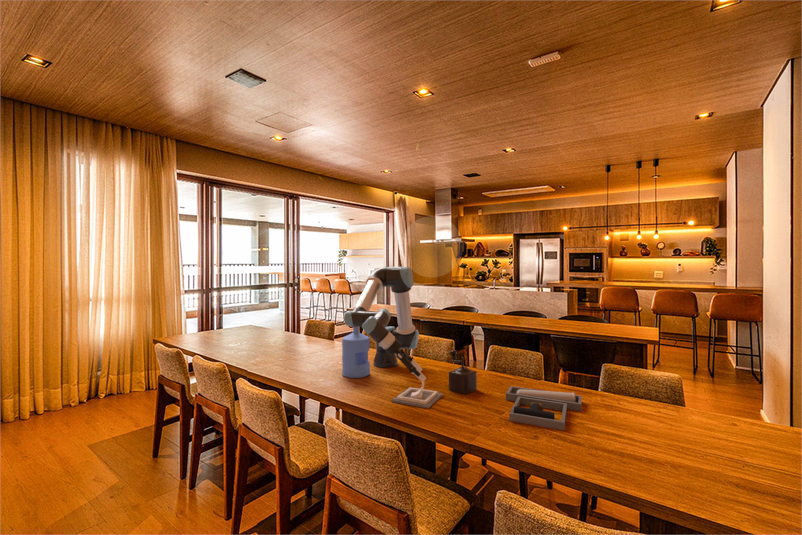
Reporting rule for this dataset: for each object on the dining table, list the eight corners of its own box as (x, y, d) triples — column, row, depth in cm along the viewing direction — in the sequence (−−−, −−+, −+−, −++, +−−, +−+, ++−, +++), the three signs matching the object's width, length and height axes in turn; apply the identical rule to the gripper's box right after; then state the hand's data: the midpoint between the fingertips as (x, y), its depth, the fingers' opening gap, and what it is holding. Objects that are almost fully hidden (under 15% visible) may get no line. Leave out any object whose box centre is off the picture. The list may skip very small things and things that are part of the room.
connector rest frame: (518, 402, 170) (518, 396, 169) (566, 410, 161) (566, 403, 161) (509, 420, 150) (509, 413, 150) (564, 430, 141) (564, 422, 141)
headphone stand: (411, 394, 178) (411, 369, 178) (424, 394, 177) (424, 369, 177) (410, 397, 174) (410, 371, 174) (423, 398, 173) (423, 372, 173)
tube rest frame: (510, 392, 184) (510, 386, 184) (581, 402, 170) (581, 395, 170) (506, 399, 173) (506, 393, 173) (581, 411, 160) (581, 404, 160)
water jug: (337, 377, 209) (337, 327, 208) (349, 369, 224) (349, 322, 223) (363, 379, 204) (363, 328, 204) (373, 371, 219) (373, 323, 219)
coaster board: (408, 389, 187) (408, 385, 187) (442, 395, 179) (442, 390, 179) (391, 402, 171) (391, 397, 171) (428, 408, 163) (428, 403, 163)
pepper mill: (478, 389, 188) (478, 353, 188) (466, 395, 180) (466, 357, 180) (452, 382, 199) (452, 348, 198) (439, 387, 190) (439, 352, 190)
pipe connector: (518, 398, 161) (555, 404, 154) (518, 410, 161) (555, 416, 155) (513, 408, 151) (553, 415, 144) (513, 421, 151) (553, 428, 144)
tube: (516, 393, 171) (575, 398, 164) (515, 386, 176) (573, 390, 169) (516, 403, 173) (575, 408, 166) (515, 395, 178) (573, 400, 171)
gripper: (383, 343, 186) (414, 373, 187) (385, 356, 161) (420, 390, 162) (394, 332, 186) (424, 362, 187) (397, 344, 161) (432, 377, 163)
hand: (422, 375), depth 175 cm, fingers open, 13 cm apart
